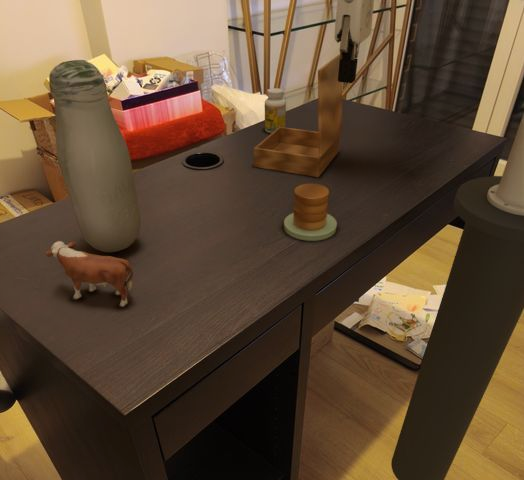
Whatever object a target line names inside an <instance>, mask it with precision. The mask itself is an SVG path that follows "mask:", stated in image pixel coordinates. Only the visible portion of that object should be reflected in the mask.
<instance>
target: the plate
mask: <svg viewBox="0 0 524 480" xmlns="http://www.w3.org/2000/svg"><path fill="white" fill-rule="evenodd" d="M337 228H338V222H337V220H336V218H335V217H334V216H332V215H331V214H329V213H327V220H326V225H325V226H324V227H323V228H321V229H318V230H303V229H300V228H297V227H296V226H295V225H294V224H293V212H292V213H289V214H288V215H287V216H286V217H285V218H284V220H283V230H284V231H285V233H286V234H287V235H288V236H290V237H292V238H294V239H296V240H301V241H308V242H315V241H323V240H327V239H329V238H331V237H332V236H334V235H335V234H336V232H337Z"/></svg>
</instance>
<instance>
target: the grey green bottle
mask: <svg viewBox="0 0 524 480" xmlns="http://www.w3.org/2000/svg"><path fill="white" fill-rule="evenodd" d="M48 81H49V82H48V84H49V91H50V94H51V96H52V99H53V105H54V106H53V107H54V114H55V115H54V116H55V145H56V146H55V147H56V157H57V162H58V165H59V168H60V172H61V175H62V178H63V183H64V184H65V188H66V192H67V195H68V198H69V201H70V204H71V207H72V210H73V213H74V217H75V220H76V223H77V226H78V228H79V231H80V233H81V235H82V237H83V239H84V240H85V241H86V243H87V244H88V245H89V246H91V247H92V248H94V249H95V250H97V251H99V252H103V253H116V252H121V251H122V250H125V249H127V248H129V247H130V246H131V245H133V244H134V242H135V241H136V240H137V238H138V236H139V234H140V230H141V223H142V222H141V213H140V207H139V202H138V197H137V196H138V195H137V192H136V185H135V184H136V183H135V179H134V172H133V167H132V160H131V155H130V152H129V148H128V146H127V143H126V140H125V138H124V136H123V133H122V131H121V128H120V126H119V124H118V121H117V120H116V118H115V115H114V114H113V110H112V107H111V103H110V100H109V95H108V89H107V84H106V81H105V79H104V76H103V75H102V73H101V71H100V70H99V68H98V67H97V66H96V65H94V64H93V63H92V62H89V61H87V60H85V59H74V60H66V61H62V62H60V63H59V64H57V65H56V66H54V67H53V68H52V70H51V71H50V73H49V76H48Z"/></svg>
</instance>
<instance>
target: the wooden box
mask: <svg viewBox="0 0 524 480" xmlns="http://www.w3.org/2000/svg"><path fill="white" fill-rule="evenodd" d="M340 139H341V134H340V135H339V137H338V138H337V139H336V140H335V141H334V142H333V144H332V145H331V146H330V147H329V148H328V149H327V151H326V152H325V153H324V154H323V155H322V156H321V157H319V138H318V131H314V130H307V129H299V128H292V127H286V126H285V127H278V128H277V129H276V130H275V131H274V132H272V133H269V134H268V135H267V136H266V137H265V138H264V139H262V141H261V142H259V143H258V144H257V145H256V146H255V147H254V148H253V167H254V168H260V169H264V170H265V169H266V170H272V171H277V172H278V171H279V172H284V173H290V174H295V175H301V176H309V177H314V178H319V177H320V176H321V175H322V174H323V172H324V171H325V170H326V169H327V167H328V166H329V165H330V164H331V162H332V161H333V160H334V159H335V157H336V156H337V155H338V154H339V150H340Z"/></svg>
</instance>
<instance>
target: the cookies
mask: <svg viewBox="0 0 524 480" xmlns="http://www.w3.org/2000/svg"><path fill="white" fill-rule="evenodd" d="M329 196H330V190H329V188H328V187H326V186H325V185H323V184H318V183H303V184H300V185H297V186H296V187H295V188H294V190H293V209H292V210H293V212H292V213H293V224H294V225H295V226H296V227H297V228H300V229H303V230H318V229H321V228H323V227H324V226H325V225H326V220H327V214H328V209H329V208H328V207H329Z"/></svg>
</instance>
